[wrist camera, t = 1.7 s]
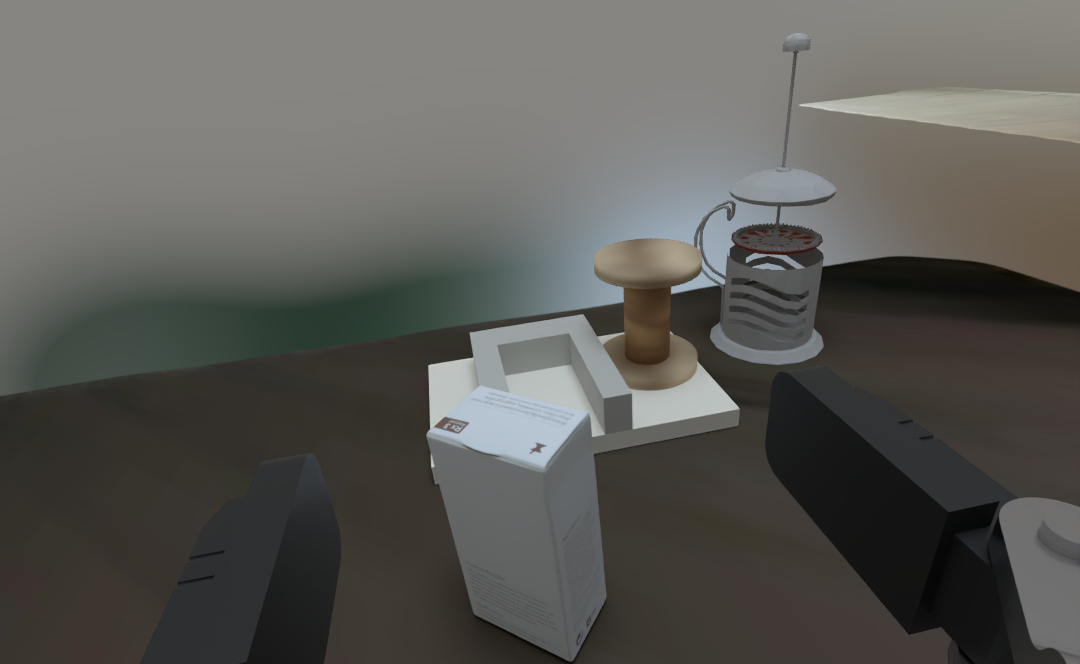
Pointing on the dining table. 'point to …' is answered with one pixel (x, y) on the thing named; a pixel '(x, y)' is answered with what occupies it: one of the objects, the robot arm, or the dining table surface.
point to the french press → (763, 319)
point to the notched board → (579, 384)
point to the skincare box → (524, 514)
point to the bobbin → (649, 310)
